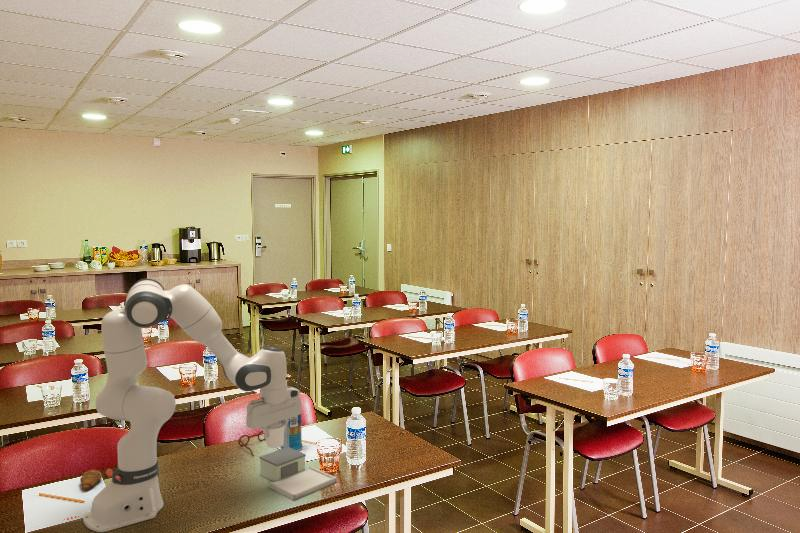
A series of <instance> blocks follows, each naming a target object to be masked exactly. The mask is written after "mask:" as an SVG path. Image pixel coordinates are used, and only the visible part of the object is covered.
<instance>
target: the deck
mask: <svg viewBox="0 0 800 533" xmlns="http://www.w3.org/2000/svg"><path fill="white" fill-rule="evenodd" d="M258 458H259V459H260V460H259V465H260V466H259V467H260V471H259V472H260V474H259V475H260V476H262V477H263V478H267V479H268V480H270V481H269V482H268V483H267V484H268V488H269V489H271V490H272V491H275V492H277V493H278V494H281V495H282V496H284V497H286V498H288V499H290V500H292V501H297V500H299V499H302V498H304V497H306V496H309V495H310V494H313V493H315V492H319V491H320V490H322V489H325V488H327V487H329V486H332V485H334V484H336V483H337V477H336V476H334V475H331V474H330V473H327V472H325V471H323V470H320V469H318V468H316V467H313V466H311V465H310V466H308V468H307V469H306V453H303V452H302V451H301V452H300V450H299V451H296V450H294V449H292V448H289V447H286V448H283V449H281V448H280V449H278V450H275V451H271V452H269V453H267V454H266V453H265V454H263V455H260V456H259V457H258ZM271 481H272V482H271Z"/></svg>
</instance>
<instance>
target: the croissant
mask: <svg viewBox="0 0 800 533" xmlns="http://www.w3.org/2000/svg"><path fill="white" fill-rule="evenodd" d="M102 478H103V475H102V472H101V471H100V470H97V469H90V470H87V471H85V472H84V473H83V474H82V476H81V478H80V486H81V489H82V490H83V492H88V491H90V490H92V489H93V488H94V487H95V486H96V485H98V484H99V482H100V481H101V479H102Z"/></svg>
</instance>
